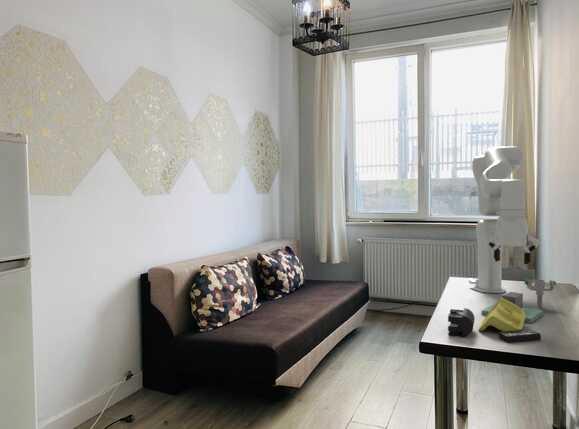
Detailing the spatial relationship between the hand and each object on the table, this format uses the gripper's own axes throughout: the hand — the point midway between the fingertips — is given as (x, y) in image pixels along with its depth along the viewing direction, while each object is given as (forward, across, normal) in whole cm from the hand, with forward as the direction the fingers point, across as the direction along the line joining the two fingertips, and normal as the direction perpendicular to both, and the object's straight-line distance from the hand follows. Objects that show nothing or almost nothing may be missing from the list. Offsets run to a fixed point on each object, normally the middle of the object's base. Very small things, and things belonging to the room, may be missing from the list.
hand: (511, 262), depth 155 cm
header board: (+18, +1, -1) cm, 19 cm away
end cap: (+18, -4, -33) cm, 38 cm away
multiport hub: (+19, +11, -28) cm, 35 cm away
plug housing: (+17, +1, -1) cm, 17 cm away
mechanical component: (+19, +5, +18) cm, 26 cm away
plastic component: (+19, +4, -18) cm, 26 cm away
